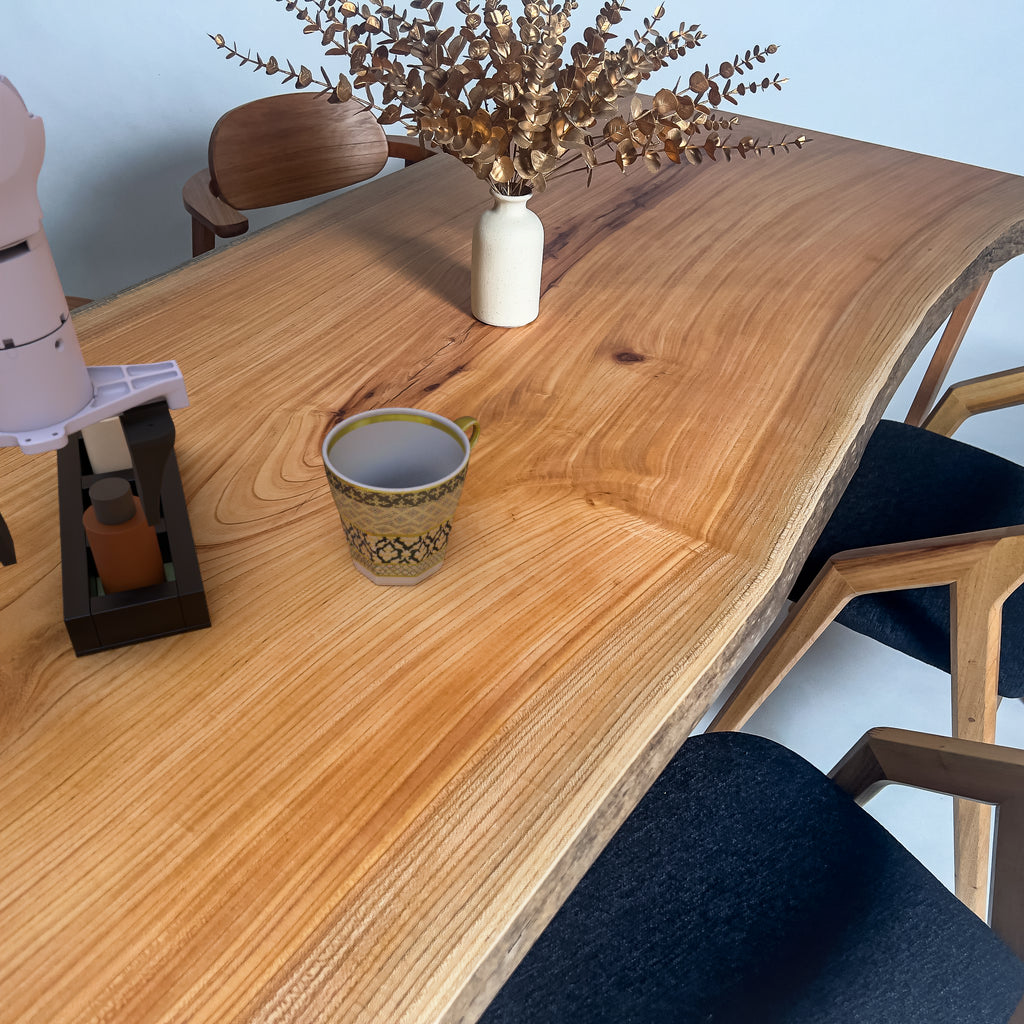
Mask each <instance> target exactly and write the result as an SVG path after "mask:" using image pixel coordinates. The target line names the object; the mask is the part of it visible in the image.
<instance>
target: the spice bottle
mask: <svg viewBox="0 0 1024 1024" xmlns="http://www.w3.org/2000/svg"><path fill="white" fill-rule="evenodd" d="M89 495H90V499H91V502H92V505H91V506H90V507H89V508H88V509H87V510H86V511H85V513H84V515H83V524H84V527H85V531H86V534H87V537H88V540H89V544H90V547H91V550H92V553H93V557H94V560H95V563H96V567H97V570H98V573H99V576H100V580H101V583H102V586H103V589H104V593H105V595H107V594H111V593H116V592H121V591H126V590H131V589H135V588H140V587H145V586H150V585H154V584H159V583H164V582H168V581H167V577H166V573H165V569H164V565H163V561H162V556H161V552H160V548H159V544H158V540H157V536H156V532H155V528H154V526H151V527H149V526H148V523H147V520H146V517H145V514H144V511H143V508H142V505H141V502H140V499H139V497H137V496H133V495H132V491H131V487H130V484H129V482H128V481H126V480H125V479H122V478H106V479H103V480H100V481H98V482H96V483H95V484H93V485H92V486H91V488H90V490H89Z"/></svg>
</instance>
